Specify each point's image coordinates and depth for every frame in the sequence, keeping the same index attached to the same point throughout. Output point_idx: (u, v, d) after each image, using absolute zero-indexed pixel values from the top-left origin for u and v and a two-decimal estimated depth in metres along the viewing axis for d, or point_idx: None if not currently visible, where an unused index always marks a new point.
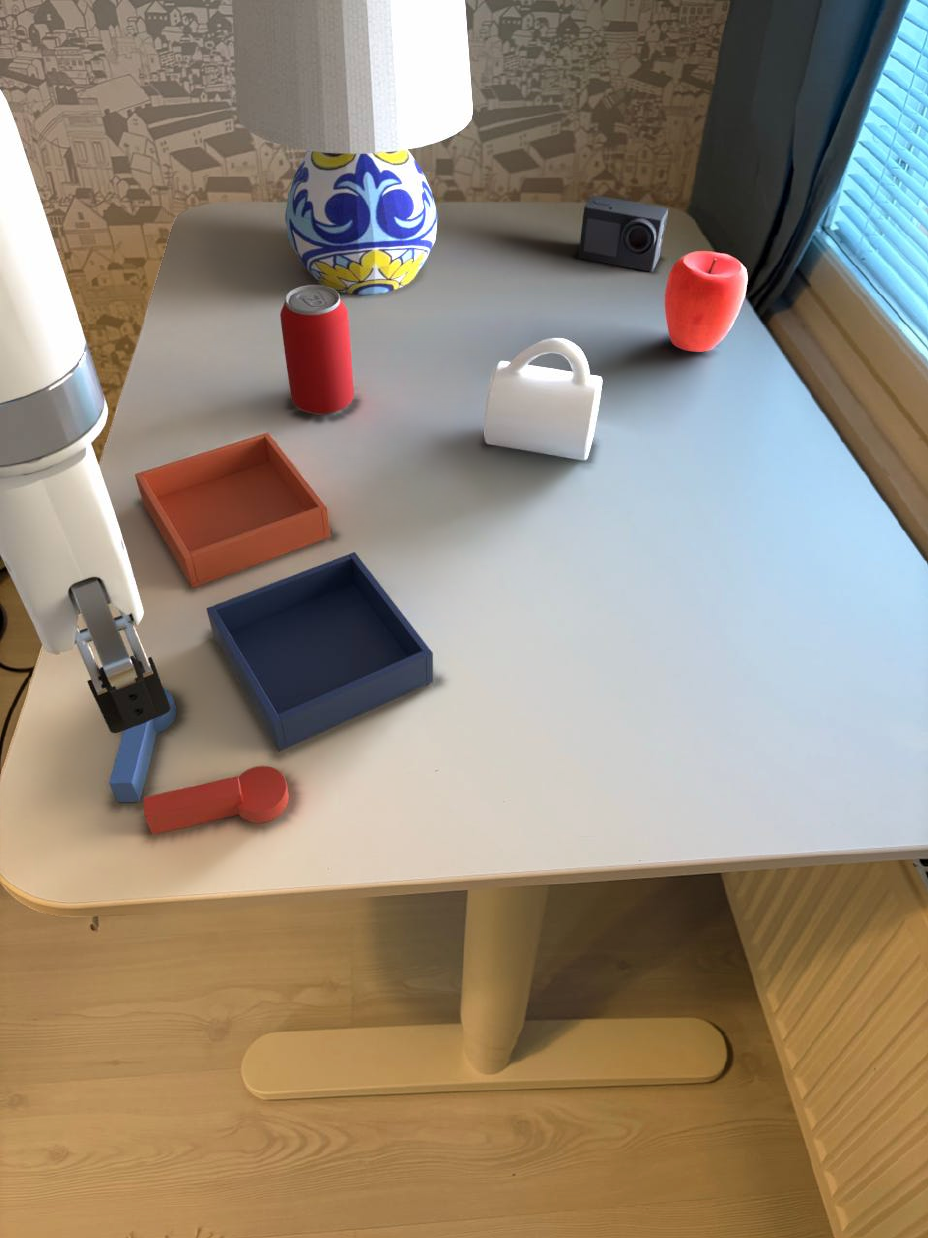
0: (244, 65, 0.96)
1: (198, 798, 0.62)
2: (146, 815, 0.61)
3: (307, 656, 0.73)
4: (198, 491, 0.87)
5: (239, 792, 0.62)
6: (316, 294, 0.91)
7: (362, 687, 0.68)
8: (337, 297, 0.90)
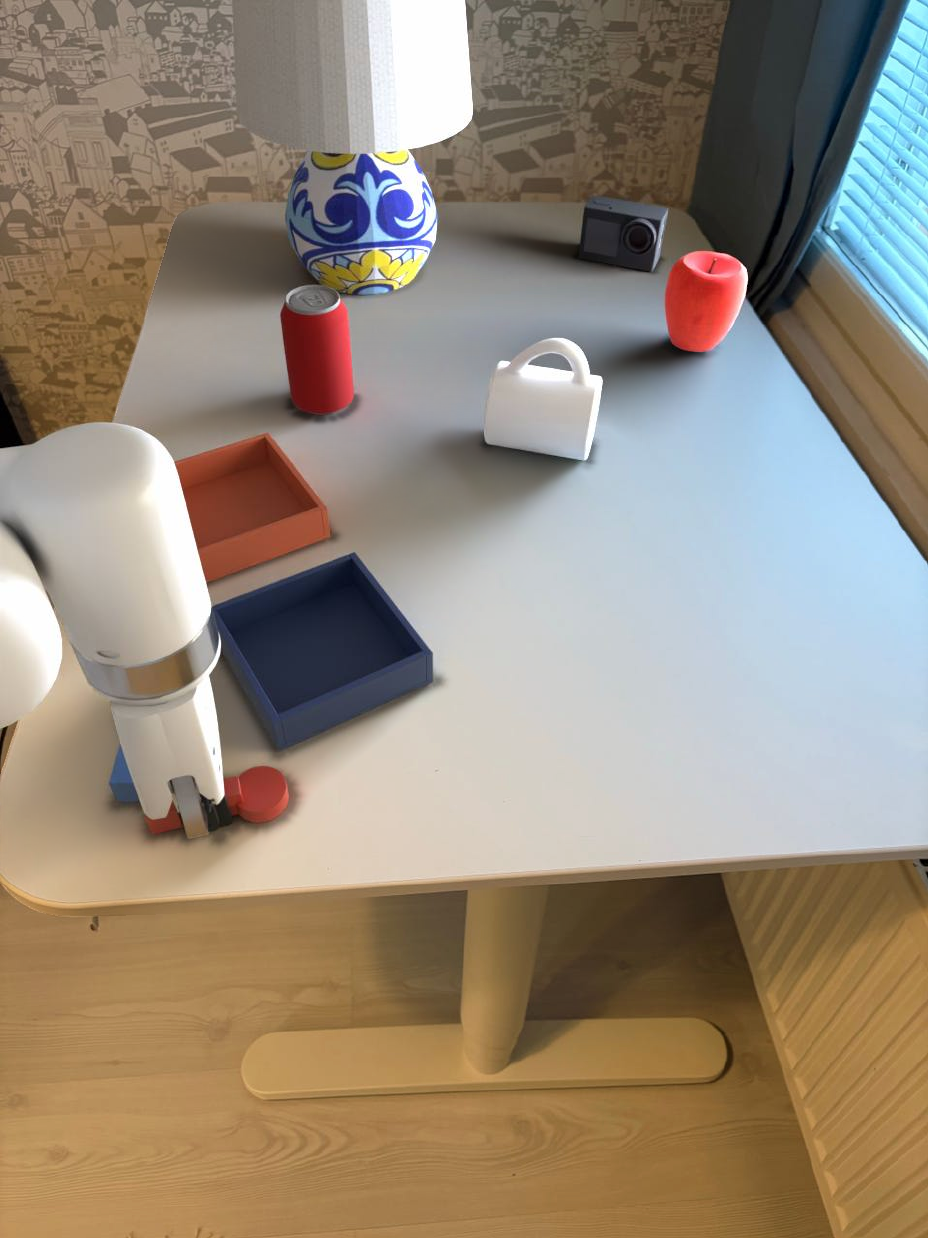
0: (244, 65, 0.96)
1: None
2: None
3: (307, 656, 0.73)
4: (198, 491, 0.87)
5: (239, 792, 0.62)
6: (316, 294, 0.91)
7: (362, 687, 0.68)
8: (337, 297, 0.90)
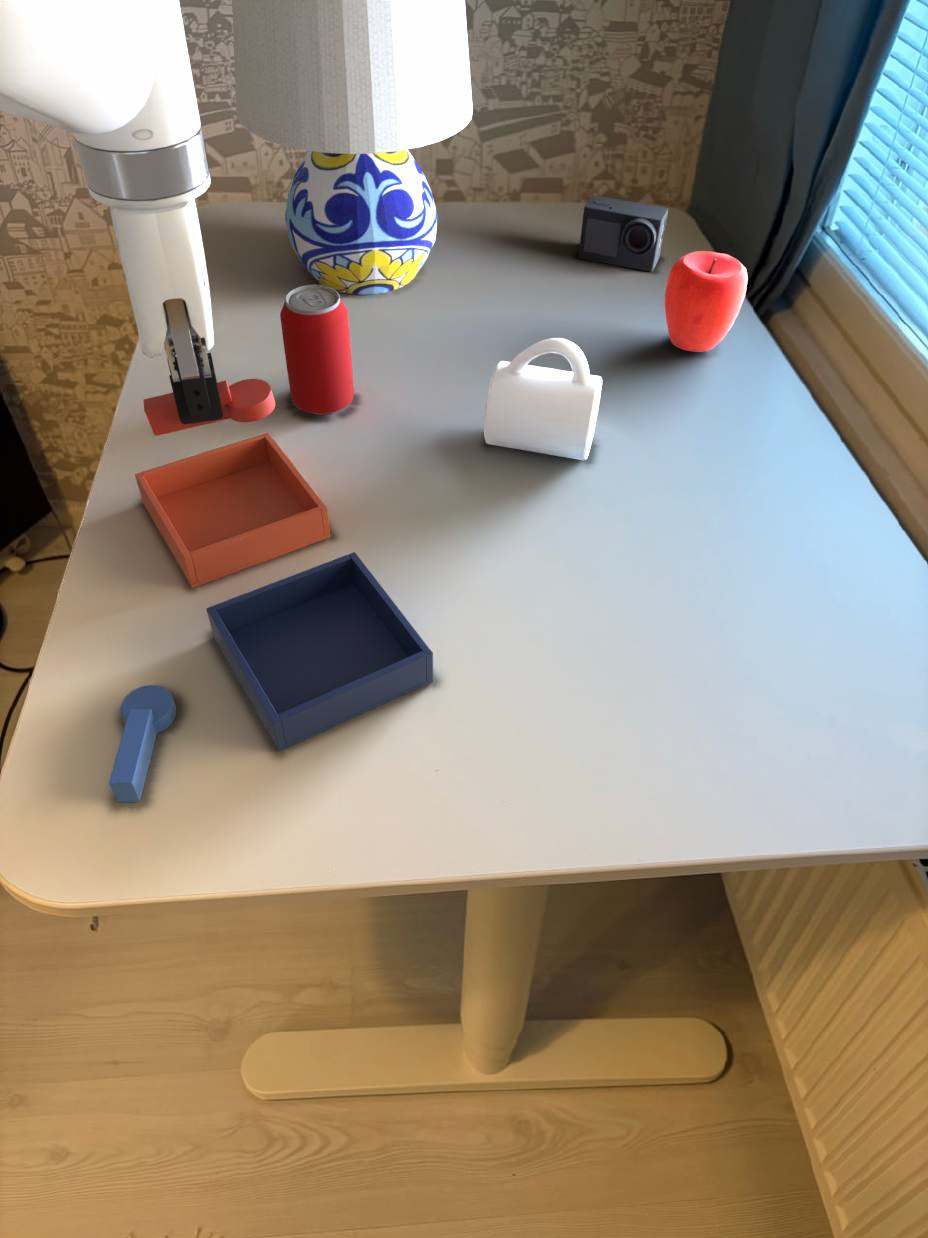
0: (244, 65, 0.96)
1: None
2: (145, 409, 0.68)
3: (307, 656, 0.73)
4: (198, 491, 0.87)
5: (227, 389, 0.69)
6: (316, 294, 0.91)
7: (362, 687, 0.68)
8: (337, 297, 0.90)
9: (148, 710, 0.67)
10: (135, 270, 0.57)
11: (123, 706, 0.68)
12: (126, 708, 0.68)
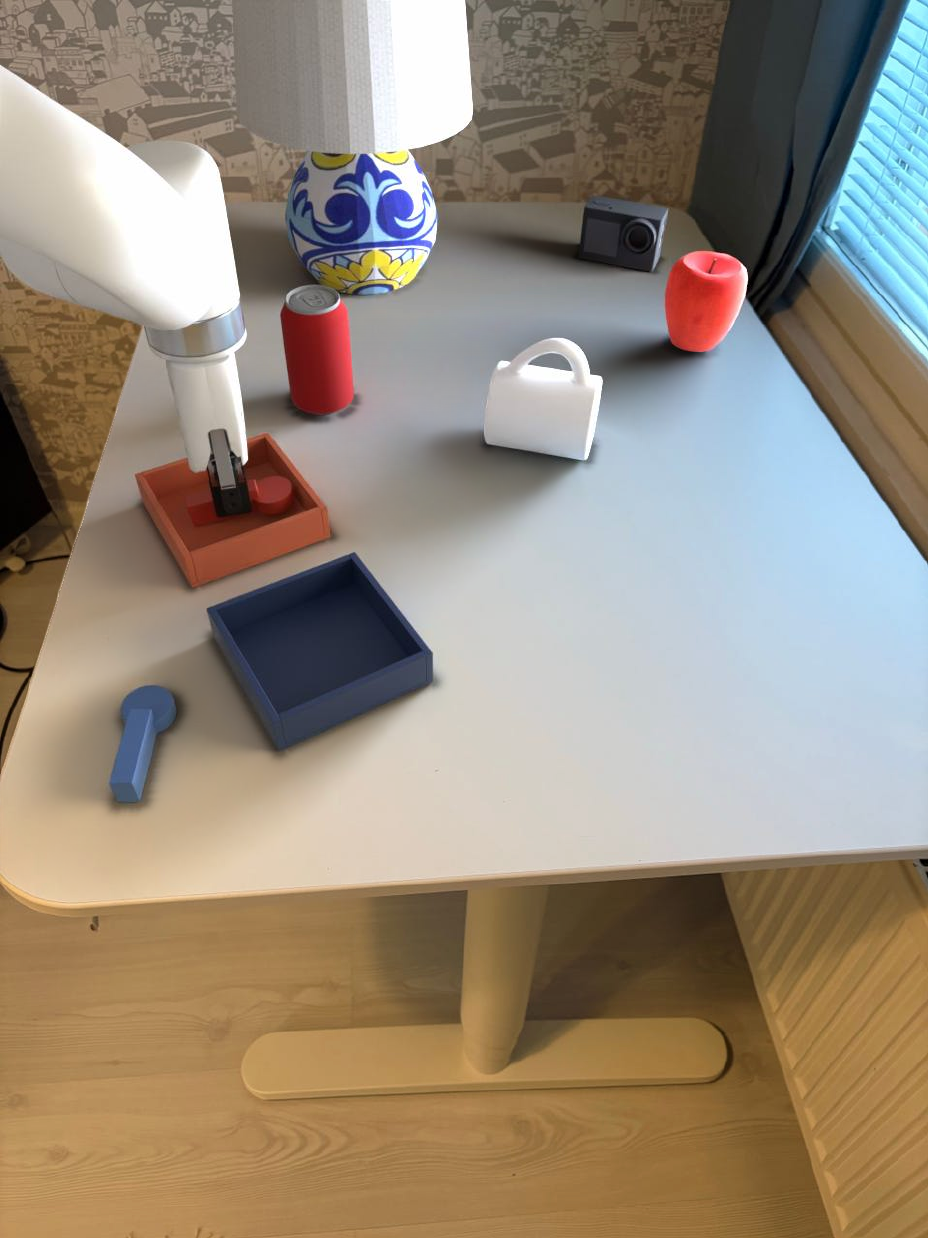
0: (244, 65, 0.96)
1: None
2: (188, 506, 0.82)
3: (307, 656, 0.73)
4: (198, 491, 0.87)
5: (255, 488, 0.82)
6: (316, 294, 0.91)
7: (362, 687, 0.68)
8: (337, 297, 0.90)
9: (148, 710, 0.67)
10: (187, 409, 0.70)
11: (123, 706, 0.68)
12: (126, 708, 0.68)
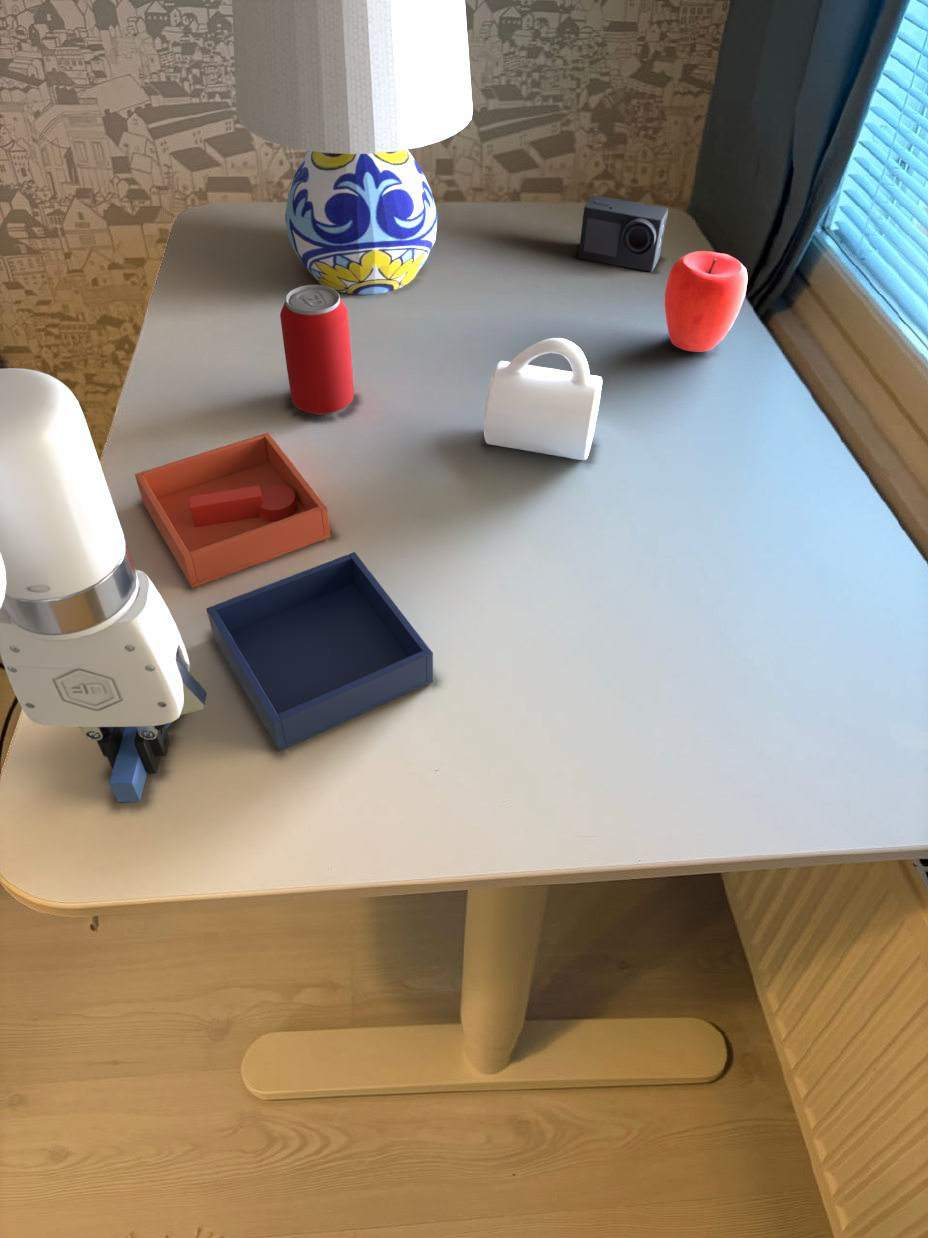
0: (244, 65, 0.96)
1: (229, 497, 0.83)
2: (191, 506, 0.82)
3: (307, 656, 0.73)
4: (198, 491, 0.87)
5: (260, 494, 0.83)
6: (316, 294, 0.91)
7: (362, 687, 0.68)
8: (337, 297, 0.90)
9: None
10: (160, 652, 0.56)
11: None
12: None
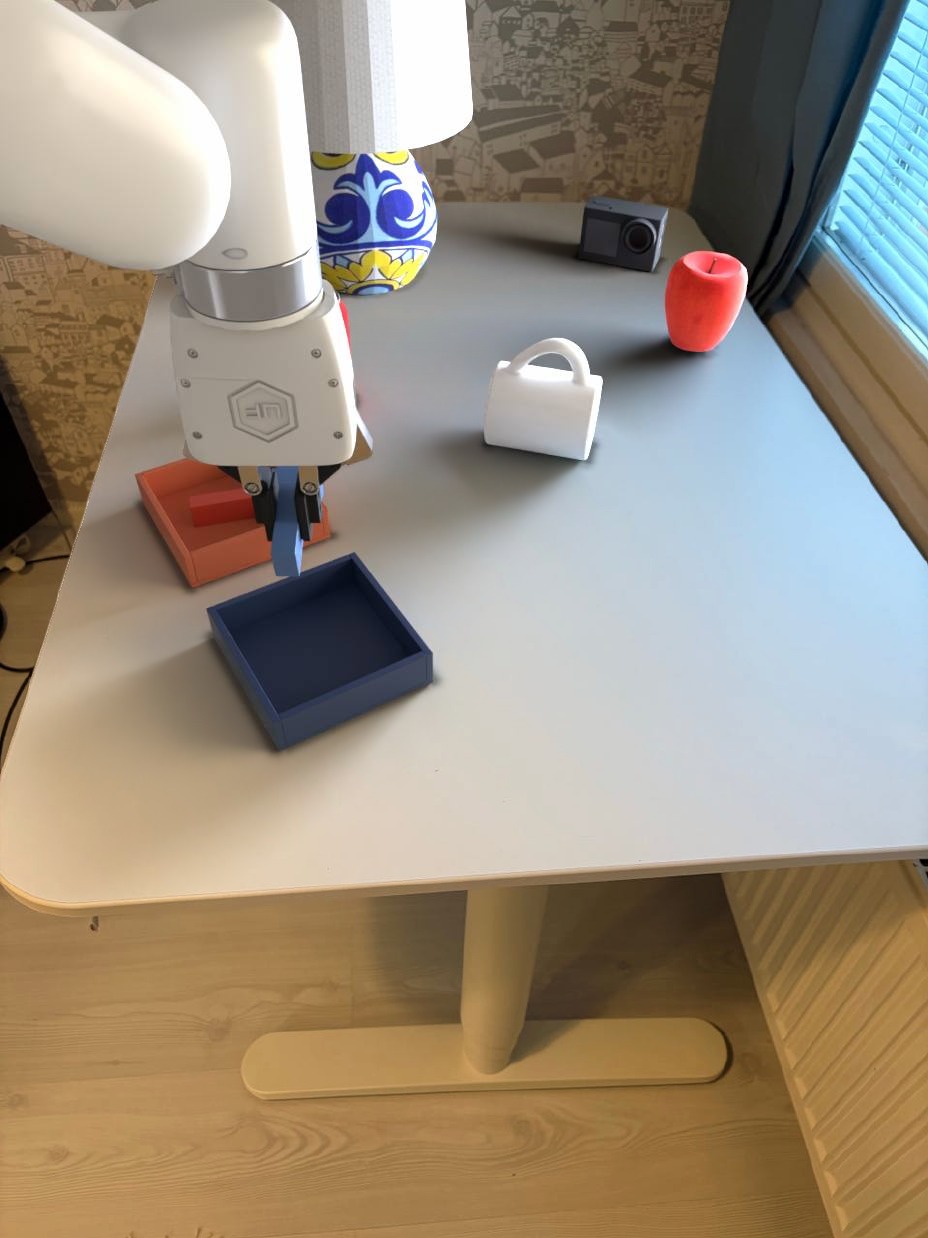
0: None
1: (229, 497, 0.83)
2: (191, 506, 0.82)
3: (307, 656, 0.73)
4: (198, 491, 0.87)
5: None
6: None
7: (362, 687, 0.68)
8: (337, 297, 0.90)
9: None
10: (344, 365, 0.51)
11: None
12: None
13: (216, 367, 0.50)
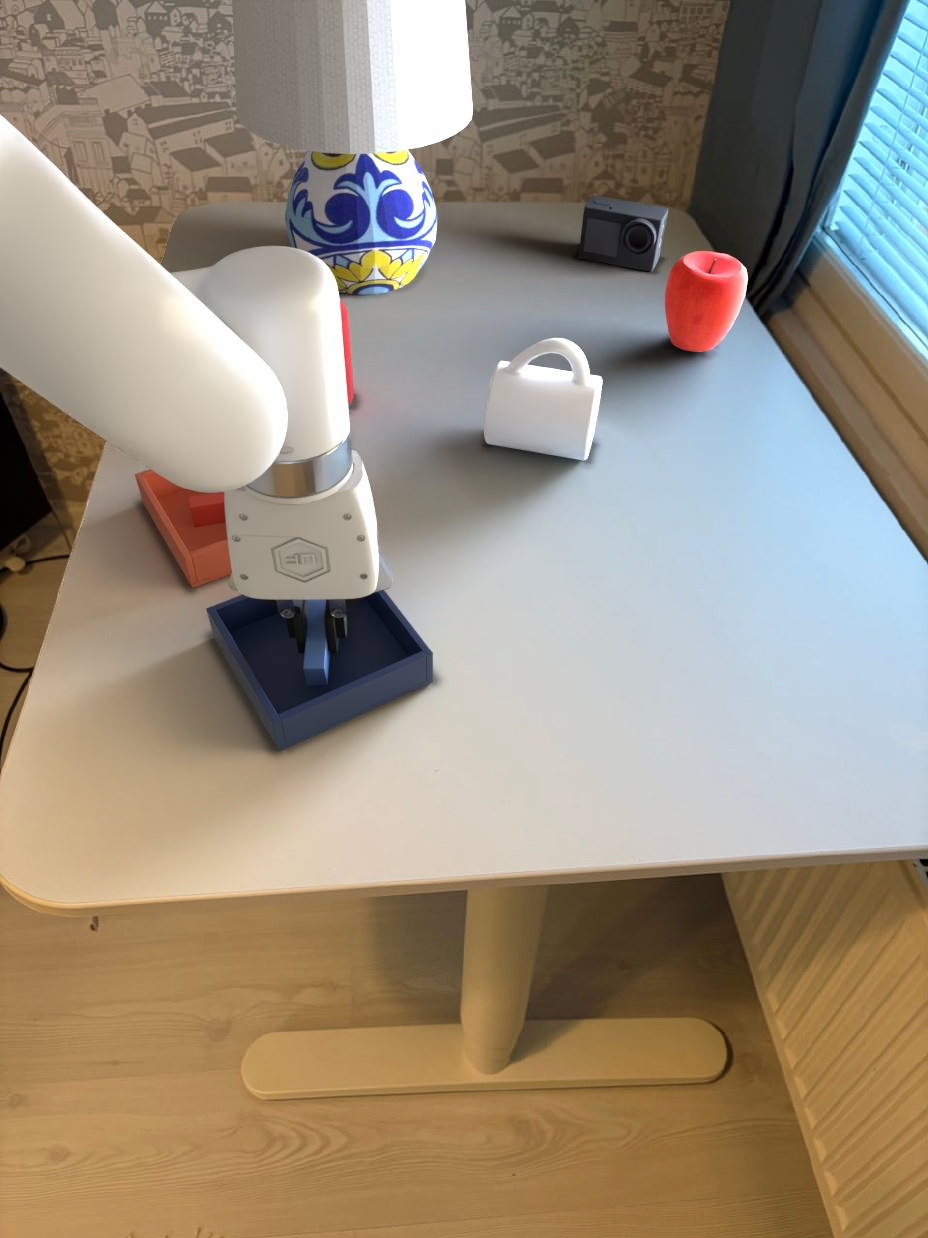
0: (244, 65, 0.96)
1: None
2: (191, 506, 0.82)
3: None
4: None
5: None
6: None
7: (362, 687, 0.68)
8: None
9: None
10: (370, 523, 0.61)
11: None
12: None
13: (263, 527, 0.60)
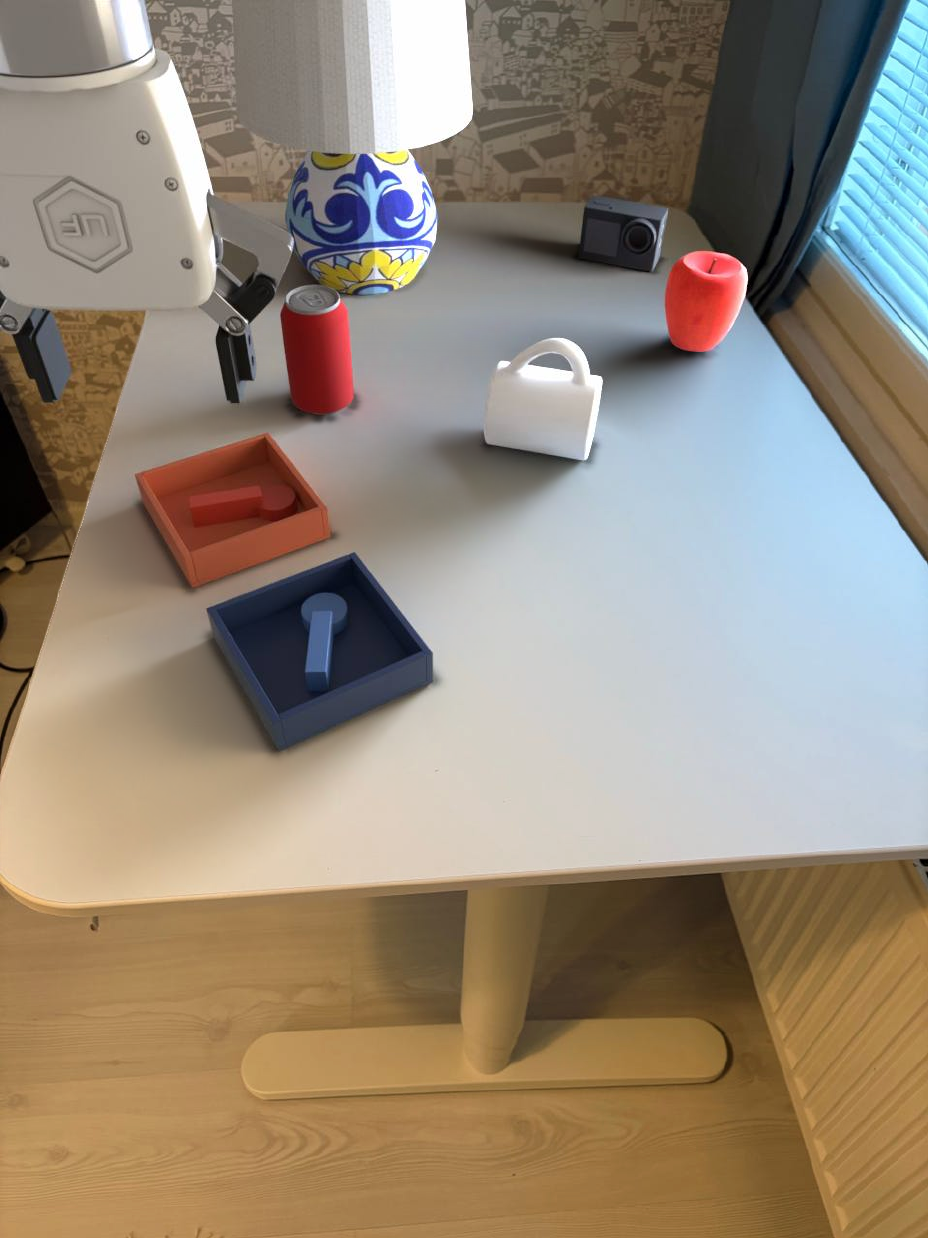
0: (244, 65, 0.96)
1: (229, 497, 0.83)
2: (191, 506, 0.82)
3: None
4: (198, 491, 0.87)
5: (260, 494, 0.83)
6: (316, 294, 0.91)
7: (362, 687, 0.68)
8: (337, 297, 0.90)
9: (329, 611, 0.73)
10: (186, 161, 0.39)
11: (303, 610, 0.75)
12: (306, 611, 0.75)
13: (12, 156, 0.38)
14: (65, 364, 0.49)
